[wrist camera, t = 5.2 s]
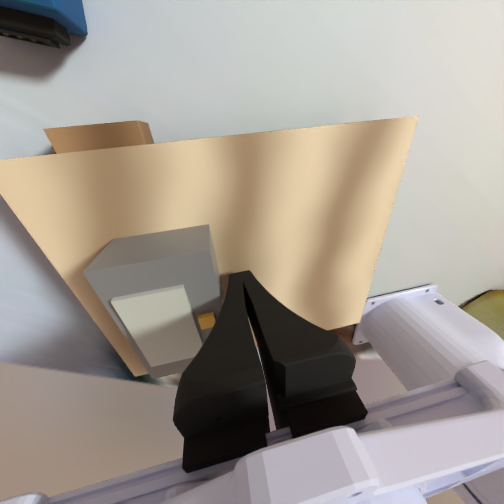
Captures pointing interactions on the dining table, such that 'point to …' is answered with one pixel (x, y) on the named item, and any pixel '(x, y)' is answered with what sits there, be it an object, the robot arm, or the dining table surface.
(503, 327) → the mug
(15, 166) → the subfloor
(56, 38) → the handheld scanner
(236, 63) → the dining table surface
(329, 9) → the dining table surface
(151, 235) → the block
